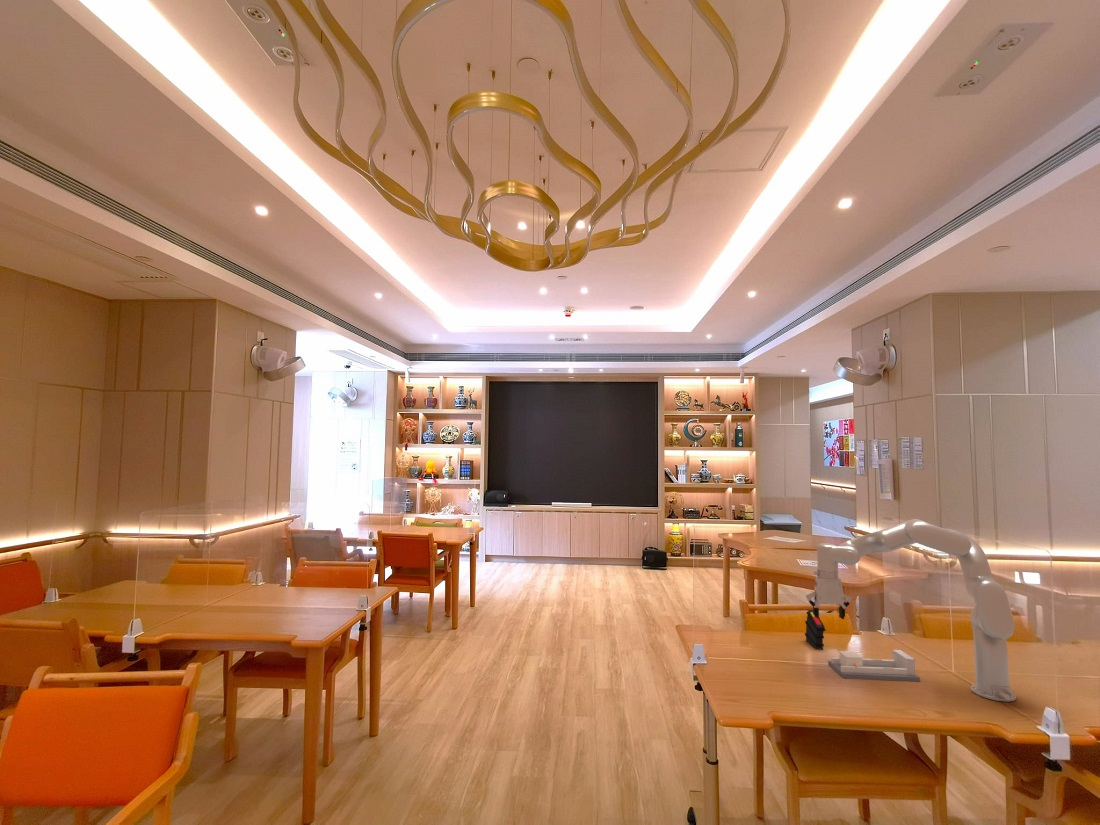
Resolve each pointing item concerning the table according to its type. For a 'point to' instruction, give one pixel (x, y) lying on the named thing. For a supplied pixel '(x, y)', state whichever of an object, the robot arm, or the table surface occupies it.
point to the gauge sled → (850, 659)
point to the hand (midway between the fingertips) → (829, 617)
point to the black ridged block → (814, 630)
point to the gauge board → (880, 668)
